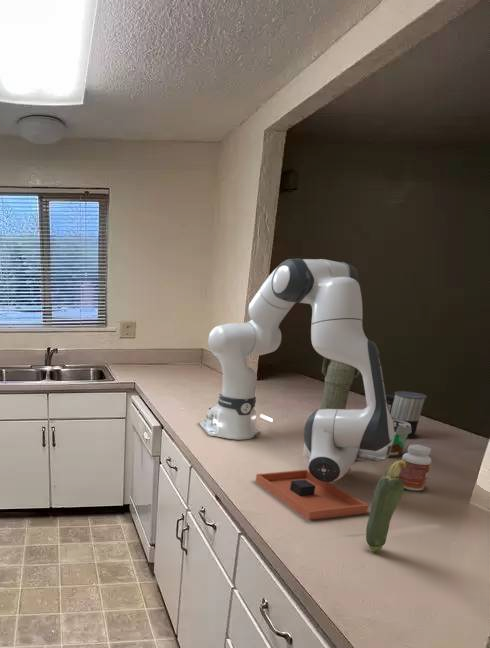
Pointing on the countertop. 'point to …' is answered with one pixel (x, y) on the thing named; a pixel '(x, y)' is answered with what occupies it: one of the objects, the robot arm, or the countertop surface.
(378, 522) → the vegetable
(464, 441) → the countertop surface
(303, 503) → the tray
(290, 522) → the countertop surface
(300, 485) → the block
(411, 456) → the pill bottle
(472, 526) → the countertop surface
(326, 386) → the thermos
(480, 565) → the countertop surface
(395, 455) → the food container
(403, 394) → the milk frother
